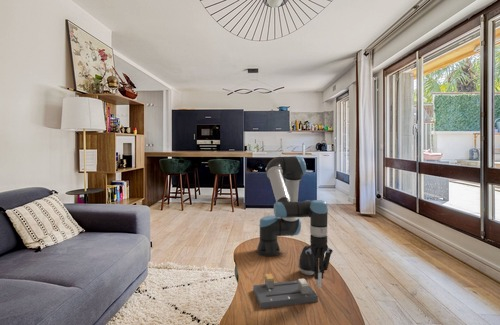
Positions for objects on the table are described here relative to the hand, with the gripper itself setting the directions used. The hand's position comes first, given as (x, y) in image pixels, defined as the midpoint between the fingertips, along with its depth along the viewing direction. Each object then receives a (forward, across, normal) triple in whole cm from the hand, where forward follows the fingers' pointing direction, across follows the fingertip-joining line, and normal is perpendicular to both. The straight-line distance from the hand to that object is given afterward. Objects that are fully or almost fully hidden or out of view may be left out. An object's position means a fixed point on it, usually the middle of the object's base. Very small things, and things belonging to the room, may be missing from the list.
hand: (318, 285), depth 122 cm
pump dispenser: (+5, +5, +22) cm, 23 cm away
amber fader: (+2, -21, +8) cm, 23 cm away
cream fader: (+2, -7, 0) cm, 8 cm away
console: (+5, -16, +3) cm, 17 cm away
